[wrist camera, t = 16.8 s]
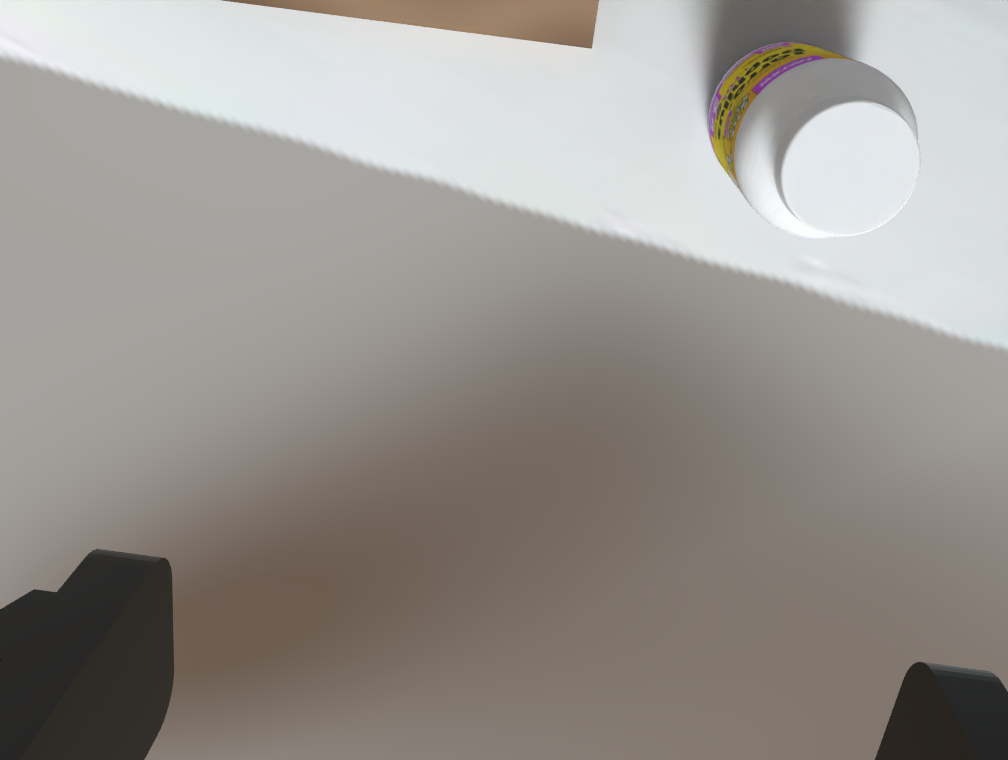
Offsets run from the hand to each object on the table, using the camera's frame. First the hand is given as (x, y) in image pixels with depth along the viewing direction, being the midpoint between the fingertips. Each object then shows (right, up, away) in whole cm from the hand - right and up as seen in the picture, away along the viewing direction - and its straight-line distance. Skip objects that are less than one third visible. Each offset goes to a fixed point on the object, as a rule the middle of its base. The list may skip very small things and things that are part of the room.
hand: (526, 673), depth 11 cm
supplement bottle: (+12, +15, +34) cm, 40 cm away
